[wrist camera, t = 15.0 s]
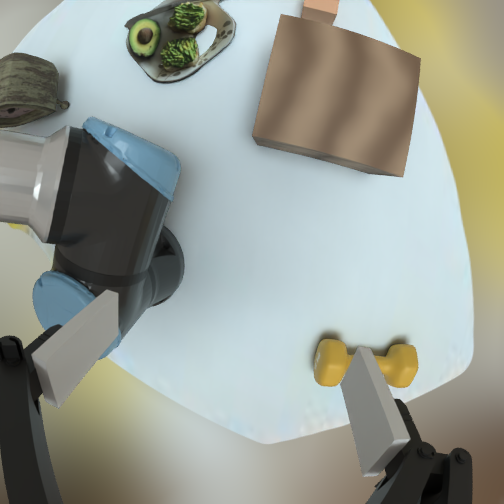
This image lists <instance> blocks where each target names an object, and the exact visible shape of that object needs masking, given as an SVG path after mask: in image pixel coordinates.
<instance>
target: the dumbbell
mask: <svg viewBox="0 0 504 504" xmlns="http://www.w3.org/2000/svg"><path fill="white" fill-rule="evenodd" d="M353 356H354V355H348V354H347V348H346V345H345V343H344V342H342V341H339V340H334V339H323V340H322V341H321V342H320V343H319V346H318V348H317V351H316V355H315V359H314V378H315V381H316V382H317V383H318V384H319V385H321V386H329V387H332V386H336V385H338V384H339V383H340V381H341V380H342V378H343V376H344V375H345V373H346V371H347V369H348V367H349V365H350V363H351V361H352V359H353ZM374 357H375V359H376V361H377V363H378V365H379V368H380V370H381V372H382V374H384V378H385V381H386V383H387V384H388V385H390V386H393V387H397V388H405V387H408V386H409V385H410V384H411V382H412V381H413V379H414V377H415V375H416V373H417V371H418V358H417V352H416V349H415V347H414V346H413V345H408V344H395V345H392V346H391V347H390V349H389V351H388V353H387V355H386V357H383V356H375V355H374Z"/></svg>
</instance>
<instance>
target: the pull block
mask: <svg viewBox="0 0 504 504" xmlns="http://www.w3.org/2000/svg"><path fill="white" fill-rule="evenodd" d="M338 4H339V0H305V1H304V5H303V10H302V15H301V18H303V19H307V20H312V21H316V22H320V23H324V24H328V25H331V26H332V24H333V22H334V20H335V18H336V15H337V10H338Z"/></svg>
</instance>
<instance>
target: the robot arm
mask: <svg viewBox="0 0 504 504" xmlns="http://www.w3.org/2000/svg"><path fill="white" fill-rule="evenodd" d="M82 127H83V129H79V128H74V127H70V126H65V127H63V128H62V129H60V130H59V131H57V132H56V133H54V134H53V135H51V136H49V137H40V136H35V135H30V134H24V133H18V132H12V131H6V130H0V222H6V223H15V224H23V225H28V226H30V227H31V228H32V229H33V231H34V232H35V233H36V235H37V236H38V237H39V239H40V240H41V242H42V243H50V244H56V245H55V252H54V259H53V266H52V269H51V270H50V271H46V272H44V273H43V274H42V275H41V276H40V278H39V279H38V280H37V281H36V283H35V285H34V288H33V305H34V309H35V311H36V314H37V317H38V319H39V321H40V323H41V325H42V327H43V328H44V329H45V330H46V331H45V332H44V333H43V334H41V335H40V336H39V337H38V338H36V339H35V340H34V341H33V342H32V343H31V344H29V345H28V346H27V347H26V348H25V349H24V350H23V346H22V342H21V340H20V339H19V338H17V337H15V336H4V337H2V338H0V449H1V458H2V466H3V472H4V479H5V484H6V490H7V494H8V499H9V504H63V501H62V498H61V495H60V492H59V489H58V486H57V482H56V479H55V475H54V472H53V468H52V464H51V460H50V456H49V452H48V447H47V442H46V437H45V432H44V426H43V420H42V414H41V407H40V402H39V396H40V395H41V394H42V393H43V395H44V398H45V401H46V402H47V403H49V404H51V405H53V406H54V407H56V408H58V409H59V408H60V406H61V405H62V404H63V403H64V401H65V400H66V399H67V398H68V396H69V395H70V394H71V392H72V391H73V390H74V389H75V387H76V386H77V385H78V384H79V382H80V381H81V380H82V379H83V377H84V376H85V375H86V374H87V372H88V371H89V370H90V369H91V367H92V366H93V365H94V364H95V362H96V361H97V360H100V359H102V358H104V357H106V356H107V355H108V354H109V353H110V352H111V351H112V350H113V349H115V348H116V347H118V346H119V344H120V342H121V340H122V339H123V338H124V336H125V335H126V334H127V333H128V331H129V330H130V329H131V328H132V326H133V325H134V324H135V323H136V321H137V320H138V319H139V318H140V316H141V315H142V314H143V313H144V311H145V310H146V309H147V308H150V307H152V306H156V305H159V304H161V303H163V302H165V301H166V300H167V299H169V298H170V297H171V296H172V295H173V293H174V292H175V291H176V290H177V288H178V287H179V285H180V283H181V281H182V278H183V274H184V258H183V253H182V250H181V247H180V245H179V243H178V241H177V240H176V238H175V237H174V235H173V234H172V233H171V232H170V231H169V230H168V229H167V228H166V227H165V226H163V223H164V220H165V217H166V214H167V211H168V209H169V206H170V203H171V202H173V200H174V196H173V193H174V190H175V187H176V184H177V181H178V178H179V175H180V171H181V165H180V162H179V160H178V158H177V157H176V156H175V155H174V154H173V153H171V152H169V151H168V150H166V149H164V148H162V147H160V146H157V145H155V144H153V143H151V142H149V141H147V140H145V139H143V138H141V137H138V136H136V135H134V134H132V133H130V132H128V131H125V130H123V129H121V128H119V127H116V126H114V125H112V124H109V123H107V122H104V121H102V120H100V119H97V118H95V117H89V118H88V119H87V120H86V122H84V123H83V126H82ZM340 385H341V389H342V392H343V396H344V400H345V404H346V408H347V412H348V416H349V420H350V424H351V428H352V431H353V436H354V440H355V444H356V449H357V453H358V457H359V462H360V467H361V471H362V476H363V477H364V476H378V475H379V474H380V473H381V471H383V469H384V468H385V472H386V476H385V477H384V478H383V479H382V480H381V481H380V482H379V483H378V484H377V485H375V487H377V488H376V489H375V491H374V492H373V494H372V496H371V497H370V498H369V500H368V501H367V503H366V504H472V458H471V455H470V454H469V452H467V451H466V450H464V449H462V448H455V449H453V450H452V451H451V453H450V454H449V455H448V454H442V453H436V450H435V449H434V447H433V446H431V445H430V444H429V443H426V442H422V440H421V438H420V435H419V433H418V431H417V429H416V426H415V424H414V422H413V421H412V417H411V415H409V414H410V413H409V411H408V409H407V406H406V405H405V404H404V403H403V402H402V401H401V400H400V399H394V398H393V396H392V394H391V392H390V389H389V387H388V385H387V383H386V381H385V378H384V376H383V374H382V372H381V370H380V368H379V365H378V363H377V361H376V359H375V357H374V355H373V353H372V351H371V349H370V348H366V347H359V346H358V348H357V350H356V352H355V354H354V356H353V359H352V361H351V363H350V365H349V367H348V369H347V371H346V373H345V375H344V377H343V380H342V382H341V384H340Z"/></svg>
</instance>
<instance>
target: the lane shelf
mask: <svg viewBox="0 0 504 504" xmlns="http://www.w3.org/2000/svg"><path fill="white" fill-rule="evenodd" d="M420 61H421V58H418V57H416V56H414V55H412V54H410V53H407V52H405V51H403V50H401V49H398V48H396V47H393V46H391V45H388V44H386V43H383V42H381V41H378V40H375V39H372V38H370V37H367V36H364V35H361V34H358V33H355V32H352V31H349V30H345V29H342V28H339V27H335V26H331V25H328V24H324V23H320V22H316V21H312V20H307V19H303V18H298V17H293V16H288V15H283V14H281V16H280V20H279V24H278V28H277V32H276V36H275V40H274V44H273V48H272V52H271V56H270V60H269V64H268V69H267V73H266V77H265V81H264V86H263V90H262V94H261V99H260V103H259V107H258V112H257V116H256V121H255V125H254V129H253V134H252V137H253V138H254V140H255V142H256V143H257V145H259V146H264V147H269V148H274V149H278V150H283V151H287V152H291V153H295V154H300V155H304V156H308V157H312V158H315V159H319V160H323V161H327V162H330V163H334V164H338V165H341V166H345V167H348V168H351V169H355V170H358V171H361V172H365V173H368V174H375V175H386V176H396V177H403V175H404V170H405V166H406V161H407V156H408V151H409V145H410V140H411V134H412V128H413V122H414V115H415V108H416V101H417V93H418V84H419V73H420Z"/></svg>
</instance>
